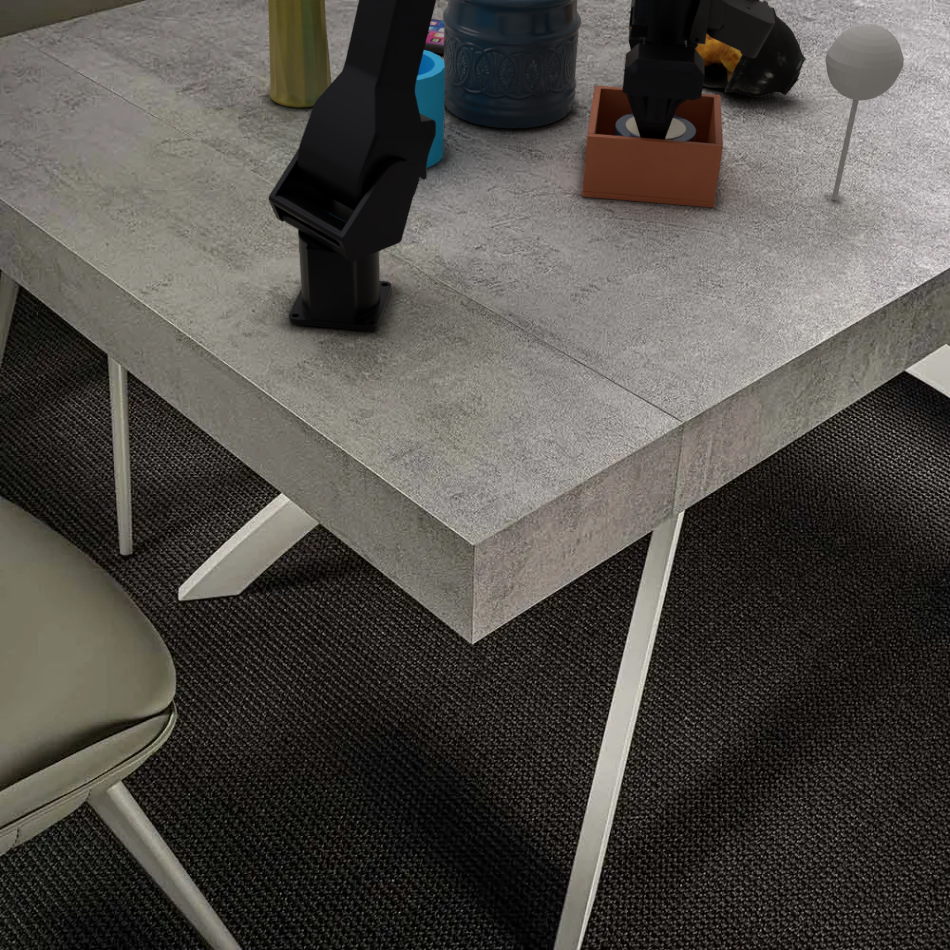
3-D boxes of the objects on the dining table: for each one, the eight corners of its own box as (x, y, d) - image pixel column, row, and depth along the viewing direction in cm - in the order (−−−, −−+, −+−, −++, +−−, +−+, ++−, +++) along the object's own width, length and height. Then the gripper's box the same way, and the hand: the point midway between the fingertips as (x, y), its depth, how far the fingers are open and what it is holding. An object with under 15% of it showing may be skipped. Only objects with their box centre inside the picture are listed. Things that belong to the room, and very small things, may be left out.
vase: (345, 98, 127) (340, -54, 118) (295, 114, 124) (286, -42, 115) (307, 79, 130) (299, -70, 122) (257, 94, 127) (245, -58, 118)
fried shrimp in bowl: (798, 77, 122) (630, -14, 124) (758, 149, 132) (603, 65, 134) (835, 15, 126) (672, -73, 127) (793, 90, 136) (643, 8, 137)
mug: (419, 179, 113) (420, 88, 108) (336, 160, 116) (333, 70, 111) (474, 129, 122) (477, 42, 117) (396, 112, 125) (396, 27, 120)
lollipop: (817, 218, 110) (854, 41, 101) (786, 187, 114) (819, 15, 105) (883, 211, 111) (926, 36, 102) (850, 181, 116) (888, 11, 106)
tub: (713, 207, 111) (723, 146, 107) (581, 196, 112) (587, 136, 108) (711, 152, 120) (720, 94, 116) (589, 142, 120) (594, 85, 117)
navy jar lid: (693, 169, 111) (696, 146, 110) (611, 162, 112) (613, 139, 110) (693, 135, 117) (696, 113, 115) (614, 129, 117) (616, 107, 116)
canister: (429, 82, 131) (431, -105, 120) (555, 75, 133) (567, -109, 122) (455, 135, 121) (460, -63, 110) (590, 127, 123) (607, -68, 112)
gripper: (784, -2, 96) (750, 193, 106) (771, -74, 111) (742, 103, 120) (632, -13, 97) (612, 181, 107) (640, -83, 111) (621, 94, 121)
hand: (653, 137), depth 114 cm, fingers closed on navy jar lid, 7 cm apart
